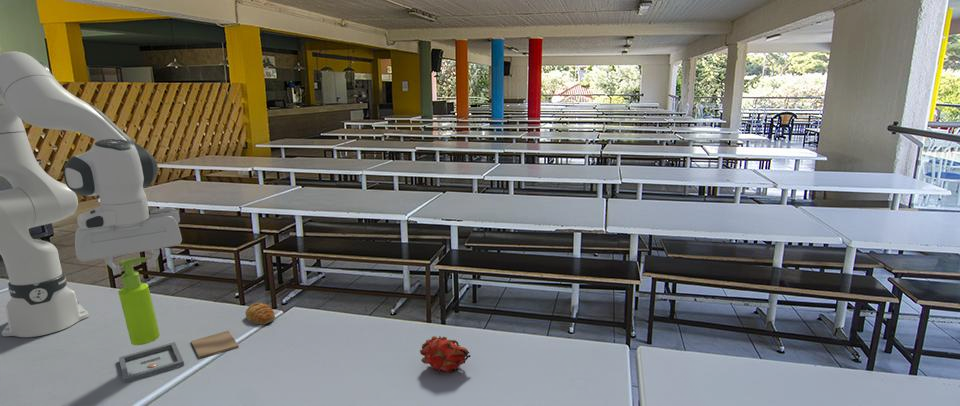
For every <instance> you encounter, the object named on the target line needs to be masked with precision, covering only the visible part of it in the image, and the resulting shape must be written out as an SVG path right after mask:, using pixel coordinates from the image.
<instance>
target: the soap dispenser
mask: <svg viewBox="0 0 960 406" xmlns="http://www.w3.org/2000/svg"><path fill="white" fill-rule="evenodd" d="M147 260H149V259H148V257H133V258H126V259H123V260H120V261H119V263H118V265H119V266H120V267H121V266H123V271H124V273H123V274H121V281H122V283H123V284H122V285H123V287H122V288H120V289H119V290H118V296H119V300H120V304H121V308H122V313H123V316H124V319H125V324H126V328H127V332H128V337H129V341H130V343H131V345H133V346H143V345H146V344H150V343H152V342H155V341H156V340H158V339H159V338H160V335H161V334H160V331H159V325H158V321H157V316H156V311H155V309H154V304H153V300H152V295H151V291H150V288H149V284H148V283H146V282H145V283H144V282H142V281H141V277H140V272H139V271H136V270H134V266H133V264H137V263H146V262H148V261H147Z"/></svg>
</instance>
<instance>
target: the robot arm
mask: <svg viewBox="0 0 960 406" xmlns="http://www.w3.org/2000/svg"><path fill="white" fill-rule="evenodd" d="M23 122H25V123H26V124H28V125H30V126H34V127H37V128H39V129H40V128H41V129H47V130H48V129H49V130H58V131H59V130H60V131H66V132H72V133H73V132H74V133H79V134H82V135H86V136H88V137H90V138H92V139H93V140H94V141H95V142H94V143H93V144H92V145H91V148H90V149H88V150H87V151H85V152H83V153H80V154H77V155H73V156H71V157H69V158H68V160H67V161H66V163H65V164H64V167H63V178H64V182H65V183H63V182H61V181H58V180H56V179H55V178H54V177H52V176H51V175H50V174H48V173H47V172H46V171H45V170H44V169H43V168H42V167H41V165H40V164H39V162H38V161H37V158H36V156H35V154H34V152H33V150H32V147H31V144H30V141H29V138H28V135H27V132H26V131H27V130H26V128H25V126H24V123H23ZM158 170H159V167H158V163H157V161H156V159H155V157H154V156H153V155H152V153H151V152H149V151H148V150H147V149H146V148H144V147H142V146H141V145H139V144H138V143H136V142H135V141H134V140H132V138H131V137H130V136H128V135H127V134H126V133H125V132H124V131H123V130H122V129H121V128H120V127H118V126H117V125H116V124H115V123H114V122H113V121H112V120H111V119H110V118H109V117H108V116H107V115H106V114H105V113H104V112H102V111H101V109H98V107H96V106H94V105H93V104H91V103H89V102H86V101H84V100H82V99H81V98H79V97H77V96H76V95H74V94H72V93H71V92H70V91H68V90H67V89H66V88H64V87H63V86H62V85H61V84H60V83H59V82H58V80H57V79H56V78H55V76H54V75H53V74H52V71H51V70H50V68H49V67H48V66H47V65H46V64H45V63H44V62H41V61H39V60H37V59H35V58H34V56H31V55H30V54H28V53H25V52H21V51H15V50H13V51H5V52H3V53H0V177H2V178H4V179H5V180H7V181H8V182H9V184H10V185H11V187H12V188H9V189H4V190H0V256H1V258H2V260H3V263H4V266H5V270H6V273H7V275H8V276H7V277H8V280H9V282H8V284H7V285H8V286H7V287H8V293H9V295H10V297H11V298H10V300H9V301H8V302H7V303H6V304H5V311H6V317H7V322H8V323H7V325H5V327H4V328H3V330H2V331H1V336H2V337H19V338H34V337H40V336H45V335H49V334H53V333H56V332H59V331H63V330H65V329H68V328H70V327H72V326H73V325H75V324H76V323H79V322H80V321H83V320H84V319H86V318H88V317H90V315H89V311H87V309H85V308H84V307H83V306H82V305H81V304H80V303H79V301H78V299H77V295H76V292H75V291H74V290H73V289H71V288H69V287H68V286H67V285H68V283H67V276H66V275H65V272H64V271H63V270H62V266H61V262H60V261H61V259H60V256H59V255H60V254H59V250H58V248H57V247H56V246H55V245H54V244H53V243H51V242H50V241H47V240H42V239H36V238H33V237H32V236H31V234H30V230H29V229H32V228H33V229H34V228H37V227H40V226H45V225H49V224H53V223H57V222H59V221H62V220H65V219H67V218H69V217H70V216H73V215H74V214H75V213H76V211H77V209H78V205H79V199H78V195H79V196H81V197H95V196H99V201H98V202H99V206H98V207H96V208H93V209H90V210H88V211H85V212H82V213H81V214H78V216H77V218H76V223H77V225H78V227H77V228H76V231H75V234H74V235H75V237H74V246H75V255H76V256H75V257H76V259H77V260H78V261H79V262H82V263H84V262H91V261H95V260H101V259H104V261H105V262H104V263H105V264H106V265H107V266H109V268H110V269H112V274H113V276H117V275H122V271H121V270H122V269H121V266H119V264H118V265H117V264H116V265H115V264H114V263H113V261H114V260H113V257H118V256H119V257H120V256H124V255H130V254H131V255H132V254H136V253H142V252H147V251H151V253H152V257H151V258H149V259H147V261H146V262H147V267H148V269H157V259H158V258H159V256H160V253H161V252H160V251H161V250H160V249H166V248H171V247H177V246H179V245H180V244H181V243H182V241H183V238H182V233H181V229H180V227H179V223H180V222H181V217H180V211H178V210H177V209H176V208H172V207H170V206H167V207H162V208H149V203H148V198H147V194H146V192H145V190H144V189H146V188H147V189H148V187H150V186H151V185H152V184H153V182H154V181H155V179H156V178H157V176H158V175H157V174H158V172H159V171H158Z"/></svg>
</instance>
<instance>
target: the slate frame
mask: <svg viewBox="0 0 960 406" xmlns="http://www.w3.org/2000/svg"><path fill="white" fill-rule="evenodd" d="M167 350H172V352H173V354H174V357H175V359H176V361H174V362H170V363H167V364H163V365H160V366H158V363H157V362H156V363H151V362H154V361H157V360H160V359H161V357H160V356H159V357H154V358H151V359H148V360H144V361H141V362H140V364H141V365H143V364H145V363H146V364H147V363H150V364H149V365H147V368H148V369H146V370H143V371H140V372H136V373H133V374H129V371H128V368H127V364H126V362H127V361H131V360H134V359H138V358H142V357H145V356H149V355H152V354H157V353H159V352H165V351H167ZM118 361H119V365H120V369H121V373H122V378H123V383H124V384H125V383H129V382H132V381H135V380H139V379H143V378H145V377H149V376H153V375H155V374H158V373H162V372H165V371H169V370H172V369H176V368H179V367H182V366H185V361H184V359H183V357H182V355H181V353H180V350H179V348H178V345H177V344H176V342H175V341H173V342H170V343H166V344H163V345H158V346H155V347H151V348H148V349H144V350H140V351H137V352H134V353H129V354H126V355H121V356H119V357H118Z"/></svg>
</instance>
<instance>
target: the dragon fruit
mask: <svg viewBox="0 0 960 406" xmlns="http://www.w3.org/2000/svg"><path fill="white" fill-rule="evenodd" d="M419 353H420V355H421V356H424V357H422V358H421V363H423V364H427V365H428V364H429V365H430V366H431V367H432V368H433V369H434V371H435V374H439V373H440V371H445V372H447V373H450V374H452V373H455V372H457V371H460V370H461V369H459V368H460V366H461V365H463V364H466V361H467V360H468V358H471V355H470V351H469V350H468V349H467V348H466V347H463V346H461V345H460V344H459V341H458V340H455V339H454V340H453V339H452V340H451V339H448V337H447V336H443V337H442V336H441V335H439V336H438V337H437V335H434V336H431V339H426V340H425V342H424V343H422V344H421V349H420V350H419Z"/></svg>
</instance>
